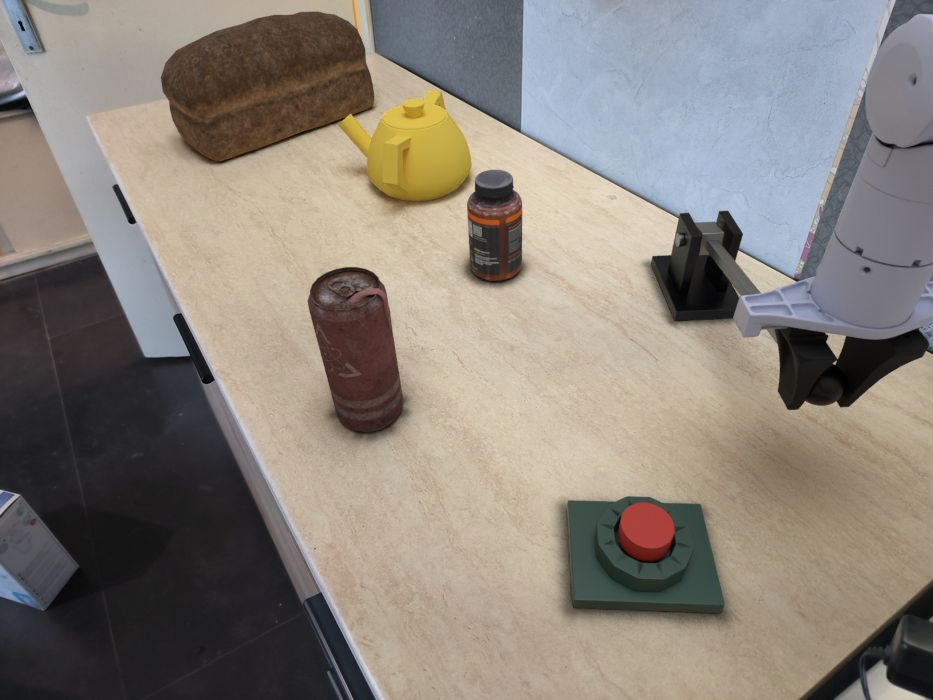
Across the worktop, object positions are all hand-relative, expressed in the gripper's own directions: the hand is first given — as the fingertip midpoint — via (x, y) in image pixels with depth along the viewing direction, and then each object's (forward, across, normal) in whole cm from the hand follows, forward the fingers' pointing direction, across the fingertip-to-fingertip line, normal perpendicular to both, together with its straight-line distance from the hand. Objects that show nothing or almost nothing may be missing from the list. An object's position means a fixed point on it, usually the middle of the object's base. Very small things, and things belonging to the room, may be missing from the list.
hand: (813, 398), depth 47 cm
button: (+6, +13, +7) cm, 16 cm away
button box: (+8, +13, +7) cm, 17 cm away
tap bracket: (+8, 0, -24) cm, 25 cm away
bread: (+8, +53, -74) cm, 91 cm away
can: (+8, +34, -9) cm, 36 cm away
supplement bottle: (+8, +21, -30) cm, 37 cm away
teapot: (+8, +32, -52) cm, 62 cm away
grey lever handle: (+2, 0, -12) cm, 12 cm away
